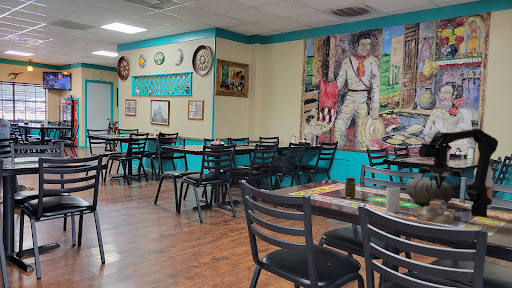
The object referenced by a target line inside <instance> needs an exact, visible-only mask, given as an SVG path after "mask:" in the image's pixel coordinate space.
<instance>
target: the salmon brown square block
mask: <svg viewBox="0 0 512 288" xmlns="http://www.w3.org/2000/svg"><path fill="white" fill-rule="evenodd" d="M429 208H434V209H441V202H436V201H431V202H430V205H429Z"/></svg>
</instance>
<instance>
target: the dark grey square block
mask: <svg viewBox="0 0 512 288" xmlns="http://www.w3.org/2000/svg"><path fill="white" fill-rule="evenodd" d="M434 201H436V202H441V205H444V201H445V200H437V199H435V200H434Z"/></svg>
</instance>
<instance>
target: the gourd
mask: <svg viewBox="0 0 512 288" xmlns="http://www.w3.org/2000/svg"><path fill="white" fill-rule="evenodd" d="M439 184H440V180H439ZM405 191H406V193H407V195H408V196H409V197H410V199H411V200H412V201H414V202H415V203H416V204H420V205H429V206H430V202H431V201H434V200H435V199H437V200H445V201H444V203H447V204H448V203H449V202H450V201H451V200H452V199H453V197H454V190H453V187H452V186H450V184H449V183H448V182H444V181H443V184H442V186H441V188H440V190H439V189H438V188H437V184H436V181H435V179H434V177H433V176H431V174H430V175H429V177H422V178H421V177H415V178H412V179H409V180H408V181H406V183H405Z"/></svg>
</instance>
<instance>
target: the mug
mask: <svg viewBox="0 0 512 288" xmlns="http://www.w3.org/2000/svg"><path fill="white" fill-rule="evenodd" d="M385 199H386V202H385V211H386V212H391V213H398V212H400V203H401V201H400V200H401V187H397V186H386V195H385Z"/></svg>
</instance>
